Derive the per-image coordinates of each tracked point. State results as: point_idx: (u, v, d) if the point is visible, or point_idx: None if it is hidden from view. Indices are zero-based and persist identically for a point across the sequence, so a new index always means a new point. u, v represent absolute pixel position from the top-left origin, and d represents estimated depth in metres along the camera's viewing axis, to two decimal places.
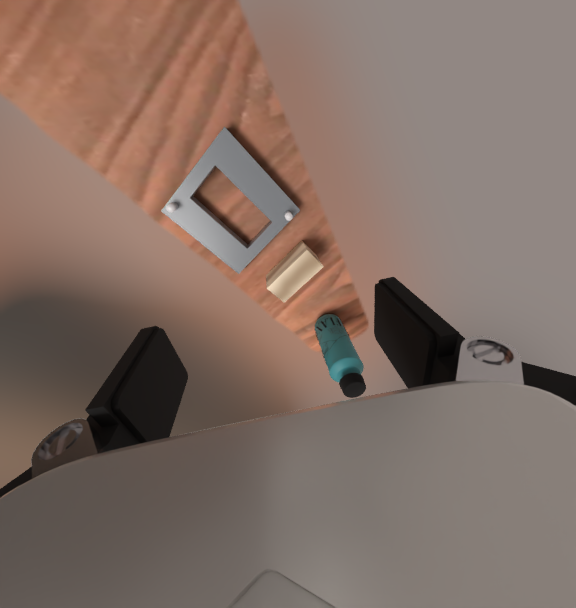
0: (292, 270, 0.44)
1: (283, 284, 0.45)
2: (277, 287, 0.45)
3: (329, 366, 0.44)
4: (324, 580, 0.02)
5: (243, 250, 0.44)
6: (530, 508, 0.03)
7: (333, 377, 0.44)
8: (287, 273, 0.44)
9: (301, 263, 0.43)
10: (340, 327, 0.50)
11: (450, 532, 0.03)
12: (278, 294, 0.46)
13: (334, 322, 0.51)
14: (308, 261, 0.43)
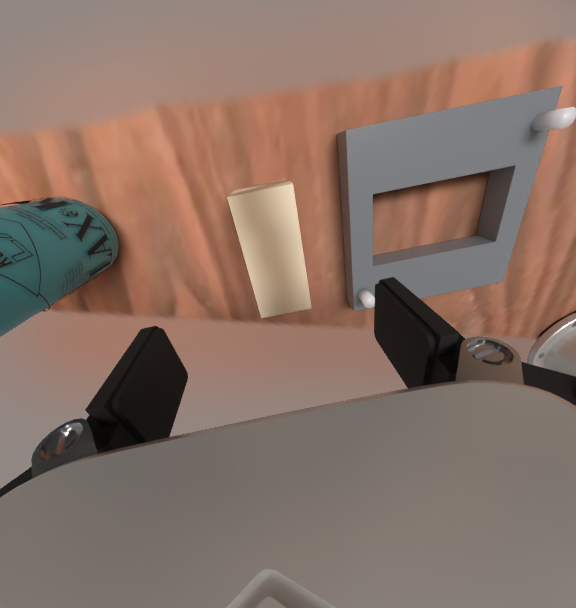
0: (292, 263, 0.19)
1: (275, 228, 0.18)
2: (277, 210, 0.17)
3: None
4: (323, 581, 0.02)
5: (376, 184, 0.20)
6: (529, 508, 0.03)
7: None
8: (293, 252, 0.19)
9: (294, 287, 0.20)
10: (75, 288, 0.18)
11: (450, 532, 0.03)
12: (258, 199, 0.17)
13: (95, 273, 0.19)
14: (289, 300, 0.21)
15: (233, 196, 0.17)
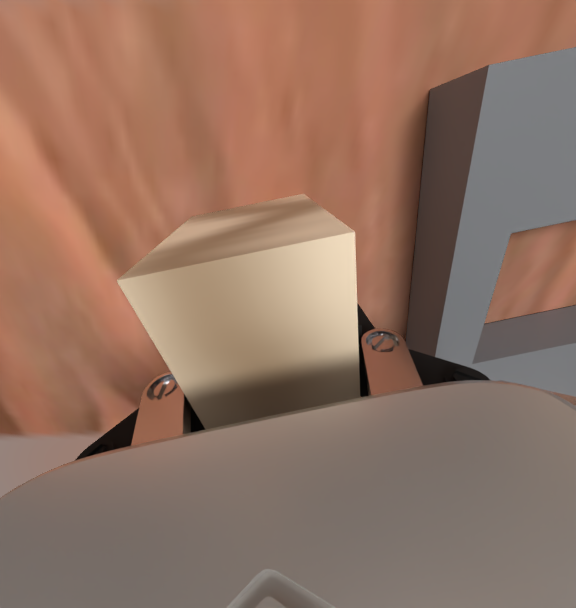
0: None
1: (288, 356, 0.06)
2: (296, 310, 0.05)
3: None
4: (324, 580, 0.02)
5: (525, 211, 0.08)
6: (530, 508, 0.03)
7: None
8: (334, 401, 0.07)
9: None
10: None
11: (450, 532, 0.03)
12: (232, 284, 0.05)
13: None
14: None
15: (141, 276, 0.05)
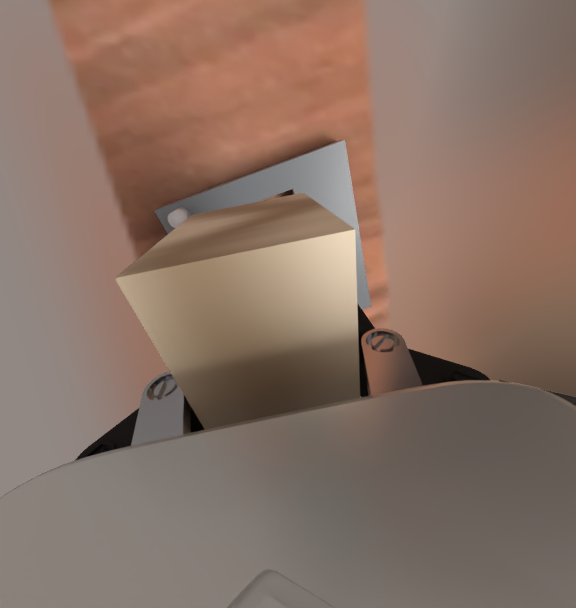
0: None
1: (288, 355, 0.06)
2: (296, 309, 0.05)
3: None
4: (324, 580, 0.02)
5: (302, 189, 0.20)
6: (530, 508, 0.03)
7: None
8: (334, 400, 0.07)
9: None
10: None
11: (450, 532, 0.03)
12: (231, 282, 0.05)
13: None
14: None
15: (139, 273, 0.05)
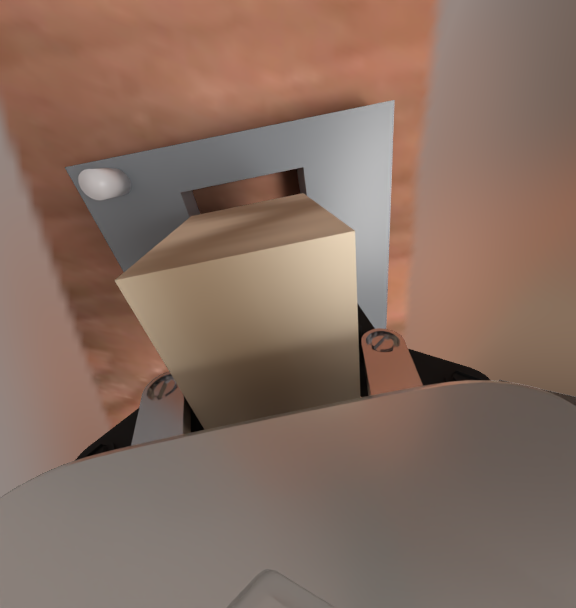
0: None
1: (288, 356, 0.06)
2: (296, 310, 0.05)
3: None
4: (324, 580, 0.02)
5: (317, 171, 0.13)
6: (530, 508, 0.03)
7: None
8: (334, 401, 0.07)
9: None
10: None
11: (450, 532, 0.03)
12: (231, 284, 0.05)
13: None
14: None
15: (139, 275, 0.05)
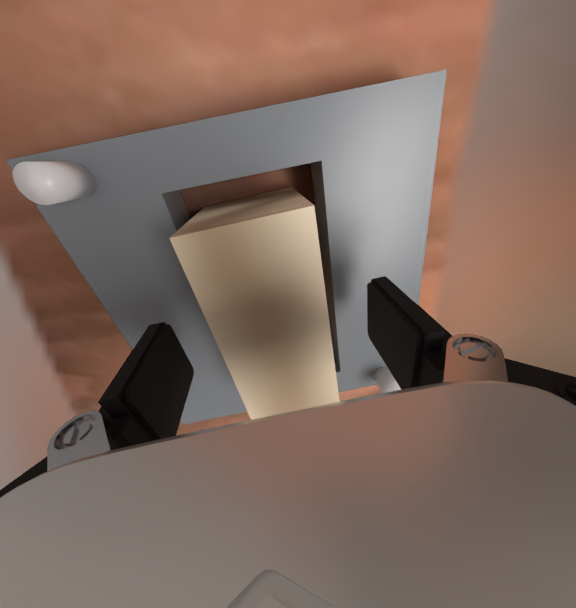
0: (309, 349, 0.10)
1: (277, 293, 0.09)
2: (281, 259, 0.08)
3: None
4: (324, 580, 0.02)
5: (339, 165, 0.10)
6: (530, 508, 0.03)
7: None
8: (311, 331, 0.10)
9: (312, 383, 0.11)
10: None
11: (450, 532, 0.03)
12: (239, 240, 0.08)
13: None
14: (302, 401, 0.12)
15: (183, 235, 0.08)
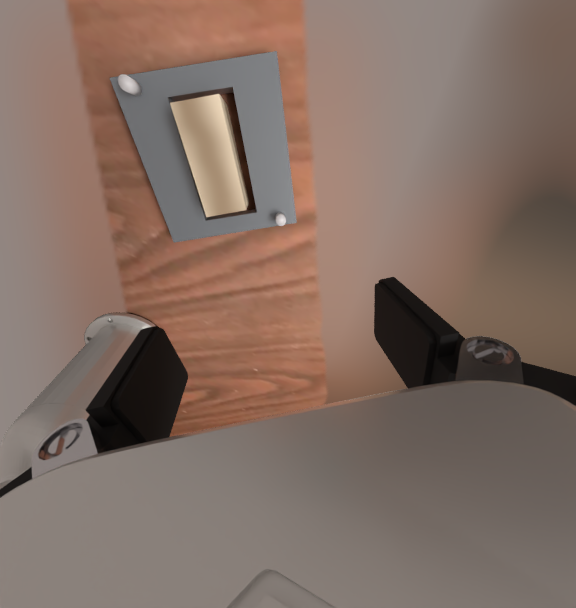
0: (226, 166, 0.25)
1: (209, 133, 0.23)
2: (209, 116, 0.23)
3: None
4: (324, 580, 0.02)
5: (240, 89, 0.24)
6: (530, 508, 0.03)
7: None
8: (226, 156, 0.24)
9: (230, 188, 0.26)
10: None
11: (450, 532, 0.03)
12: (194, 106, 0.22)
13: None
14: (227, 201, 0.27)
15: (174, 102, 0.22)
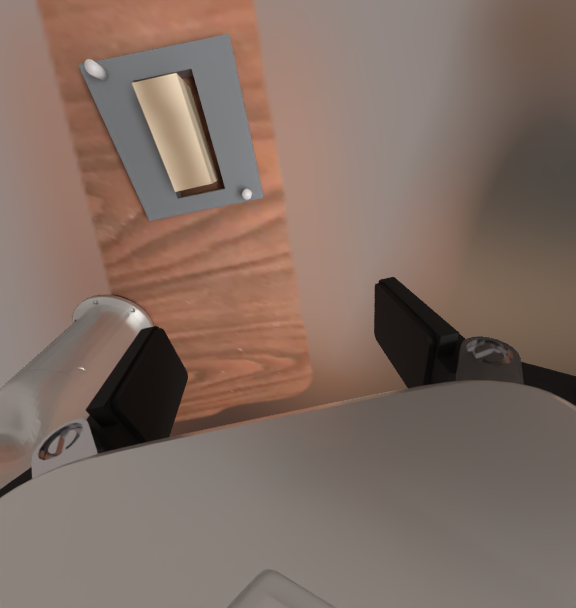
0: (189, 141, 0.27)
1: (171, 110, 0.25)
2: (169, 94, 0.25)
3: None
4: (324, 580, 0.02)
5: (198, 71, 0.27)
6: (530, 508, 0.03)
7: None
8: (187, 131, 0.27)
9: (194, 163, 0.28)
10: None
11: (450, 532, 0.03)
12: (154, 85, 0.24)
13: None
14: (193, 175, 0.29)
15: (136, 83, 0.24)
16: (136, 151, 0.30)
